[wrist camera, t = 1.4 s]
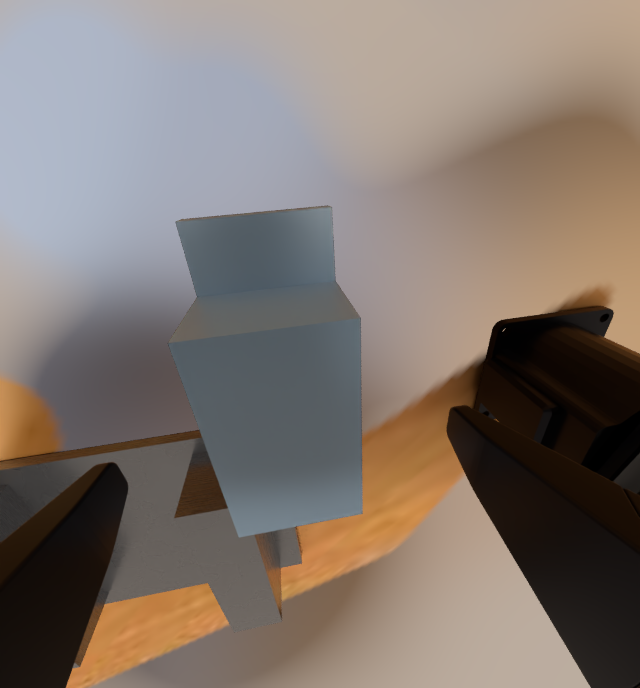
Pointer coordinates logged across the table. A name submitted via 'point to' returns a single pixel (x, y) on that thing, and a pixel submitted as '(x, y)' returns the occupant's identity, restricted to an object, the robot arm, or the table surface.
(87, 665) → the table surface
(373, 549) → the table surface
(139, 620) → the table surface
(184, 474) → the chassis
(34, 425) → the table surface
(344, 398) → the block
